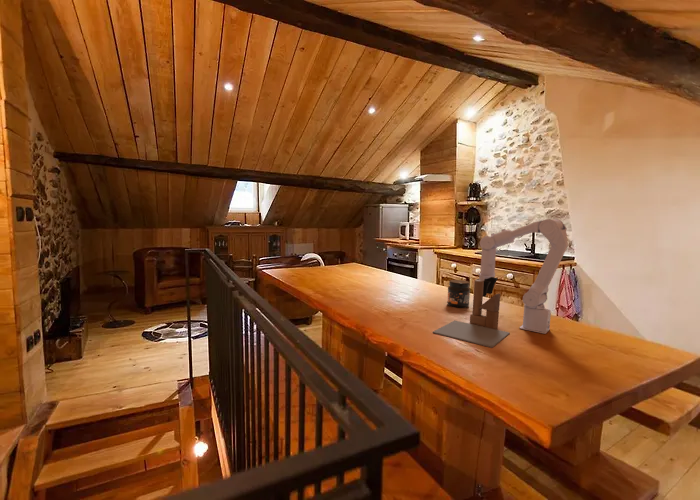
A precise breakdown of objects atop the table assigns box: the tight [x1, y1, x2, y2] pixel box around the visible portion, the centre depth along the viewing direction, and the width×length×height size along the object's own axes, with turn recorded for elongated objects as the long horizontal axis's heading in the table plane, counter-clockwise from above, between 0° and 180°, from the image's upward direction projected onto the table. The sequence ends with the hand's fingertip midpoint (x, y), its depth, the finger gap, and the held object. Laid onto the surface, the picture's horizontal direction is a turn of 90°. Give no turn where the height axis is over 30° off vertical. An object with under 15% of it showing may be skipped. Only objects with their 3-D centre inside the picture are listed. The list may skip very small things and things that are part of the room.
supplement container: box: [446, 279, 471, 309], centre depth 181 cm, size 10×10×12 cm
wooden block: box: [469, 279, 501, 330], centre depth 149 cm, size 4×11×18 cm, turn 37°
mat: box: [432, 320, 511, 349], centre depth 139 cm, size 22×20×1 cm
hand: (486, 295), depth 160 cm, fingers open, 7 cm apart
